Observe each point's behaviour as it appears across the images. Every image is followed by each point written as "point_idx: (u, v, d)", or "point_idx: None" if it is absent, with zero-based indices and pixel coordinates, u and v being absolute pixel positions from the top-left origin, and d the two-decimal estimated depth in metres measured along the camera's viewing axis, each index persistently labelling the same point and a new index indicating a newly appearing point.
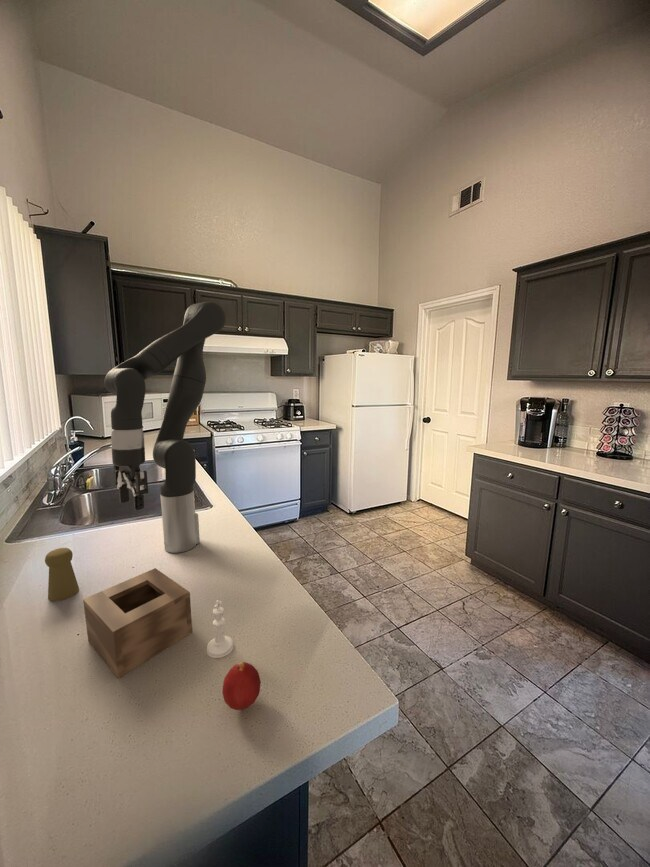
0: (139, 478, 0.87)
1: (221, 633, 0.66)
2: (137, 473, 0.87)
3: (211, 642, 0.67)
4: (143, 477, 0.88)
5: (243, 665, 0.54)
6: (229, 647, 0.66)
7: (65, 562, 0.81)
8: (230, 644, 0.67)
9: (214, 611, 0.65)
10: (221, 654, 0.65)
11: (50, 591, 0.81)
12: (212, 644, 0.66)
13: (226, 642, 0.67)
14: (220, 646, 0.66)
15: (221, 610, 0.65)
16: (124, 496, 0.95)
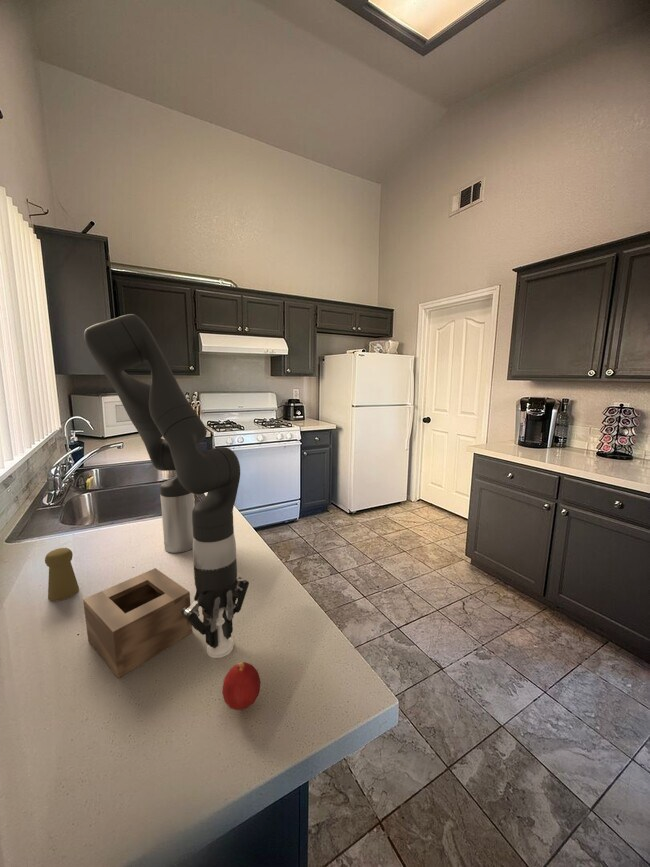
0: None
1: (221, 633, 0.66)
2: None
3: None
4: None
5: (243, 665, 0.54)
6: (229, 647, 0.66)
7: (65, 562, 0.81)
8: (230, 644, 0.67)
9: None
10: (221, 654, 0.65)
11: (50, 591, 0.81)
12: None
13: (226, 642, 0.67)
14: (220, 646, 0.66)
15: (221, 610, 0.65)
16: None
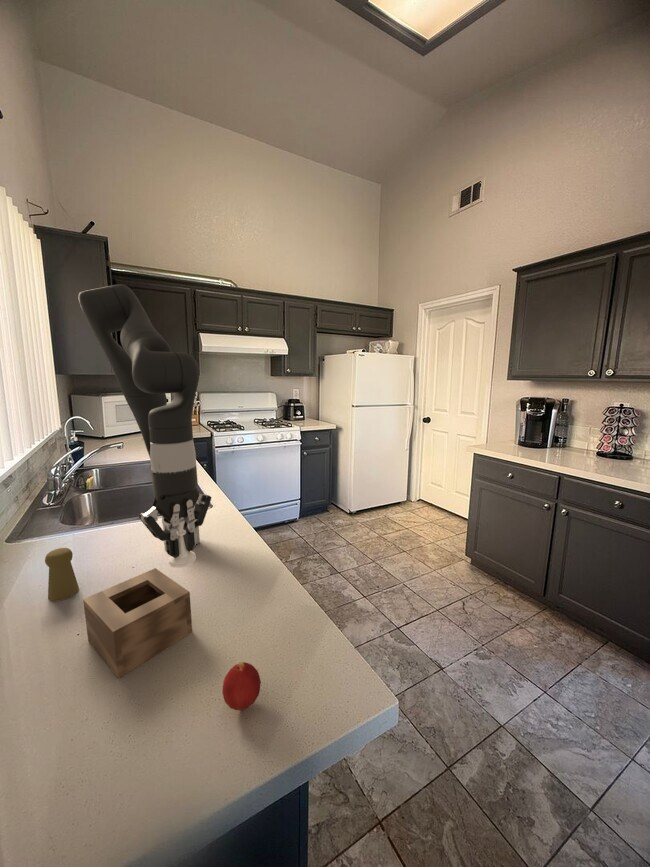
0: None
1: (183, 544, 0.65)
2: (210, 497, 0.69)
3: None
4: None
5: (243, 665, 0.54)
6: (191, 558, 0.65)
7: (65, 562, 0.81)
8: (192, 556, 0.66)
9: None
10: (183, 564, 0.64)
11: (50, 591, 0.81)
12: None
13: (188, 554, 0.66)
14: (182, 557, 0.65)
15: (182, 520, 0.65)
16: None
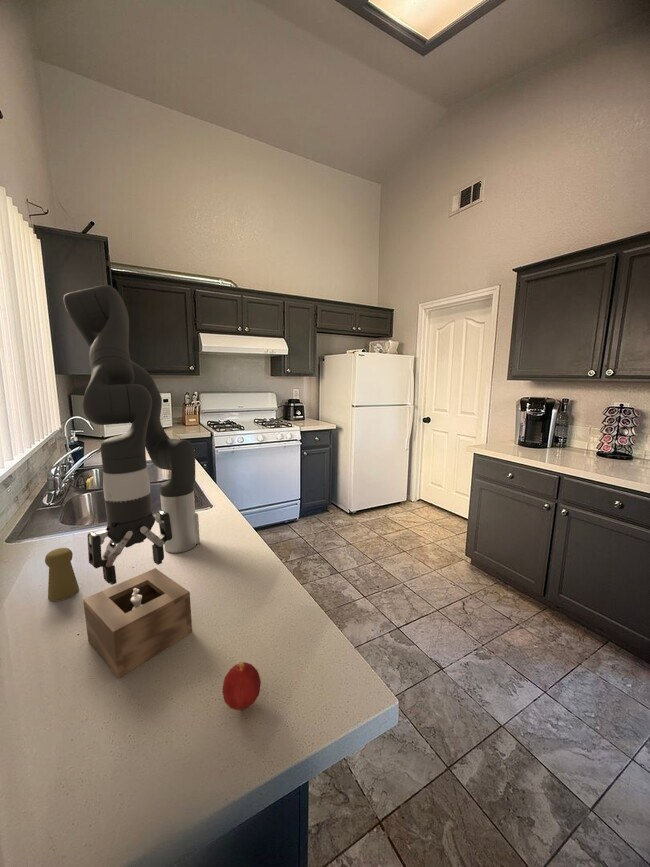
0: None
1: None
2: (167, 513, 0.70)
3: None
4: None
5: (243, 665, 0.54)
6: None
7: (65, 562, 0.81)
8: None
9: (132, 599, 0.67)
10: None
11: (50, 591, 0.81)
12: None
13: None
14: None
15: (139, 597, 0.68)
16: None
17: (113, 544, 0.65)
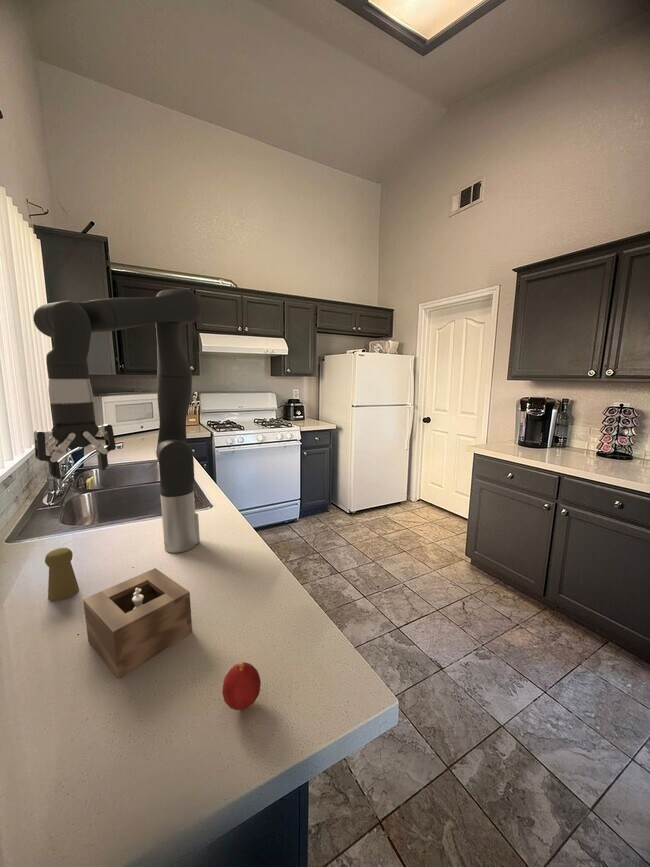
0: None
1: None
2: (110, 425, 0.80)
3: None
4: None
5: (243, 665, 0.54)
6: None
7: (65, 562, 0.81)
8: None
9: (133, 598, 0.68)
10: None
11: (50, 591, 0.81)
12: None
13: None
14: None
15: (140, 597, 0.68)
16: None
17: (59, 446, 0.74)
